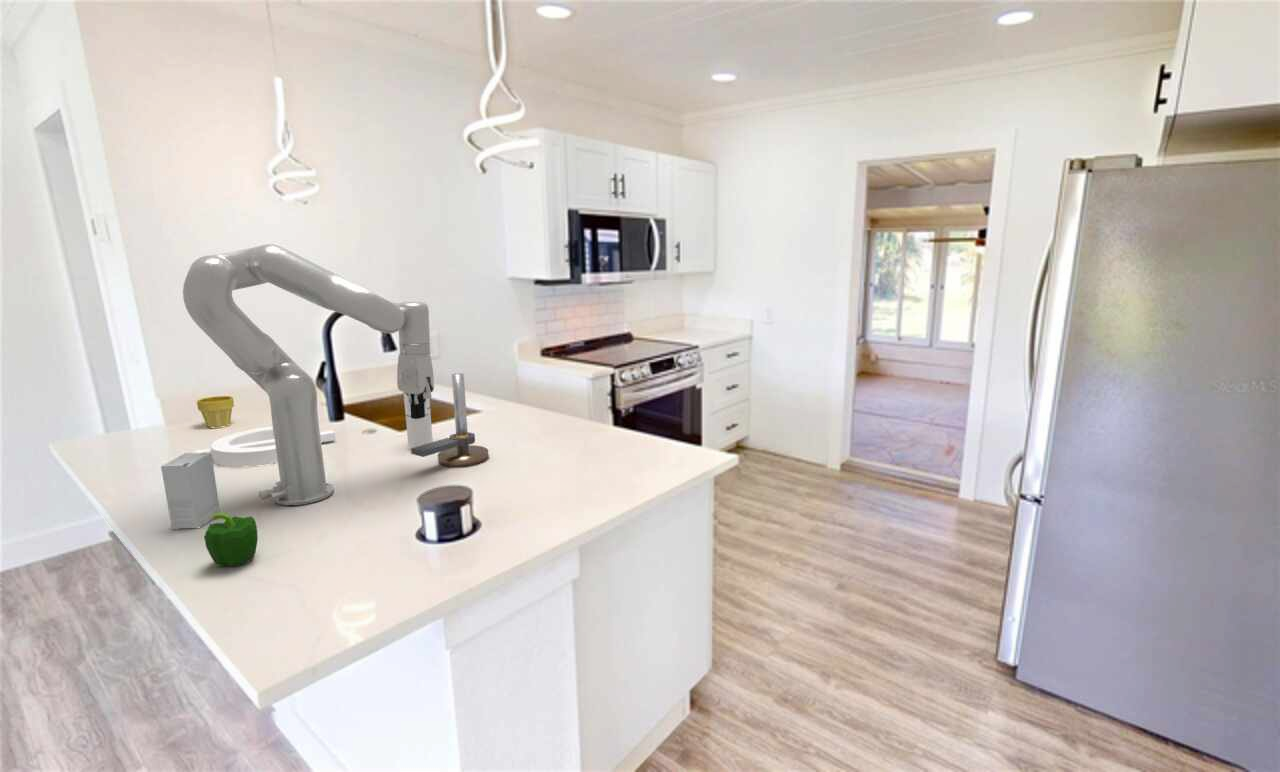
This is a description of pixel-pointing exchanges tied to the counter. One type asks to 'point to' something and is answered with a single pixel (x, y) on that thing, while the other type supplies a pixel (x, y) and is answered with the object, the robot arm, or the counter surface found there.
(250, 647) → the counter surface
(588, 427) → the counter surface
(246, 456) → the white circle with bar
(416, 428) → the cylindrical container
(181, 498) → the skincare box
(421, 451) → the collar
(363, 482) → the counter surface
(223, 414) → the plant pot
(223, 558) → the bell pepper
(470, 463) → the pipe stand
